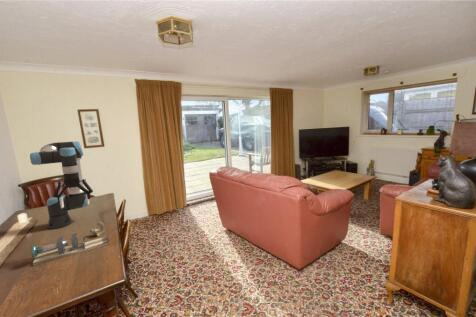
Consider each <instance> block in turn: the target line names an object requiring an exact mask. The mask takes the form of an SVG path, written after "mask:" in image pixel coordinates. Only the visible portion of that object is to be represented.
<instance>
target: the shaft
mask: <svg viewBox="0 0 476 317" xmlns="http://www.w3.org/2000/svg"><path fill="white" fill-rule="evenodd" d="M63 246H65V247H68V246H69V242H68V239H67V240H64V241H63ZM30 249H31V250H30V253H31V257H32V258H34V259H35V257H37V256H38V254H42V253H46V252H49V251H53V250H57V249H58V246H57V242H55V243H50V244H46V245H42V246H38V245H37V244H33V245H31V247H30Z"/></svg>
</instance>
